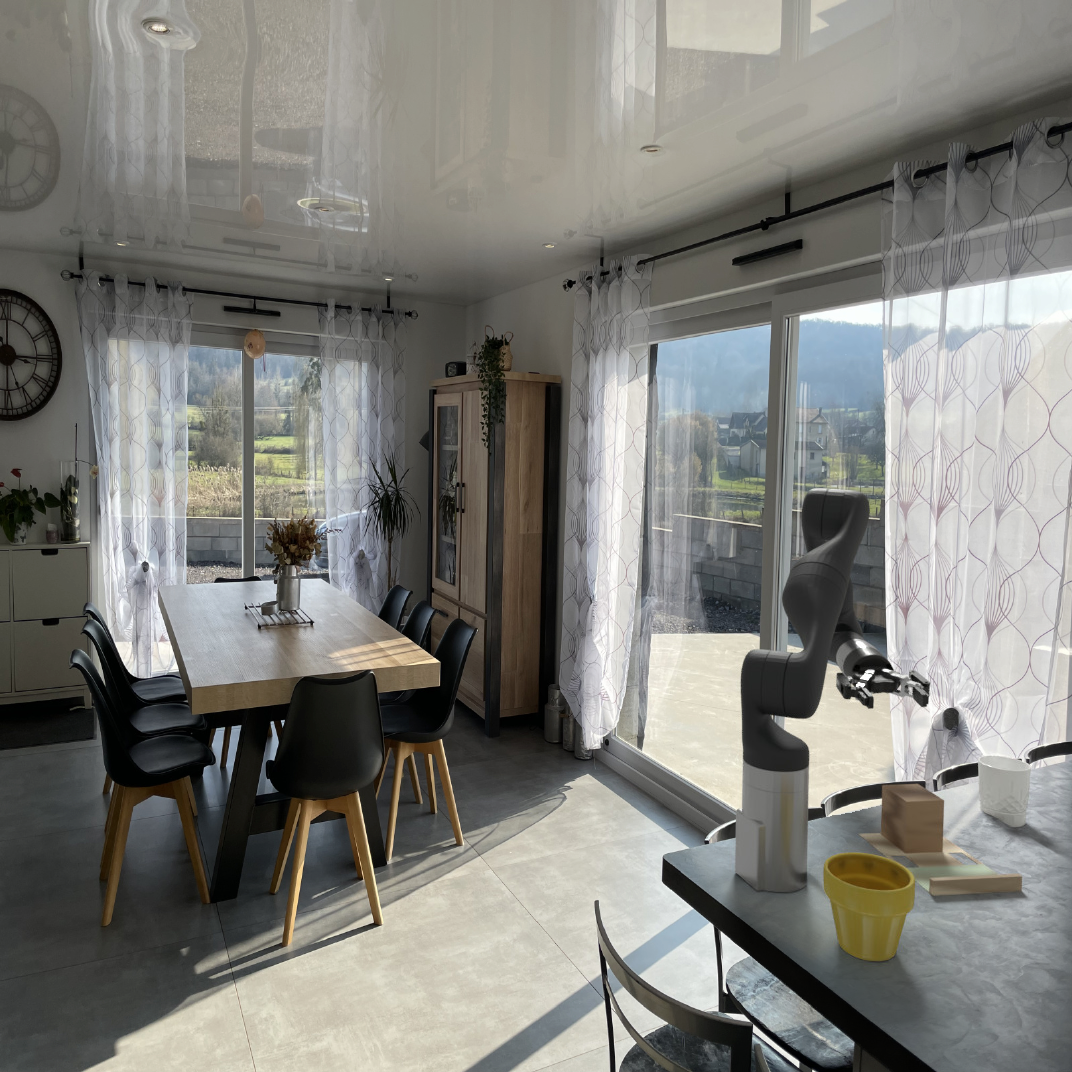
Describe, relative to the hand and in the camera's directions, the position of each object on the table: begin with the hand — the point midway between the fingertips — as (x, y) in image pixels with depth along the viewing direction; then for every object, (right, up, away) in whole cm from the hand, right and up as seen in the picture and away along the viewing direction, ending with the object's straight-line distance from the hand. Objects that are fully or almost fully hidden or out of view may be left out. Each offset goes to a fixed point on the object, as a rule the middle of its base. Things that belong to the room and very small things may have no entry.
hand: (898, 702), depth 132 cm
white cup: (+21, -22, +7) cm, 31 cm away
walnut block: (-1, -21, -6) cm, 21 cm away
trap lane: (0, -23, -11) cm, 25 cm away
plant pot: (-18, -24, -32) cm, 44 cm away
